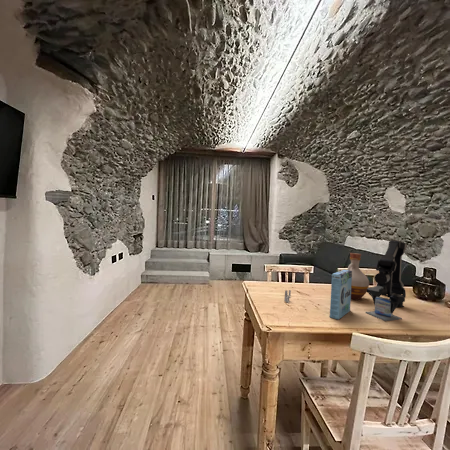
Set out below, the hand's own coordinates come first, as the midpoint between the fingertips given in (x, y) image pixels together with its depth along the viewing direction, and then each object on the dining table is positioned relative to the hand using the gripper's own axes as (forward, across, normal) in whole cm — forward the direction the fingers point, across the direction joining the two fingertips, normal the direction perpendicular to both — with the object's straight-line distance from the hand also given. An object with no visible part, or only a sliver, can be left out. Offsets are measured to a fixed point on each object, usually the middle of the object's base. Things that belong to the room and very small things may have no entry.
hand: (383, 310), depth 143 cm
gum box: (+4, -8, -22) cm, 24 cm away
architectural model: (+4, -30, -34) cm, 46 cm away
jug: (+4, -30, +9) cm, 31 cm away
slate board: (+3, 0, 0) cm, 3 cm away
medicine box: (+2, 0, 0) cm, 2 cm away
